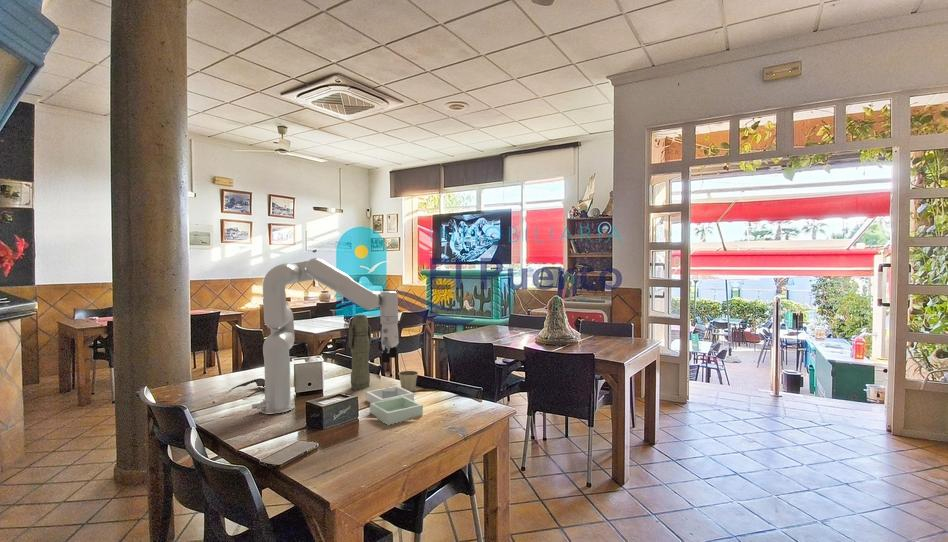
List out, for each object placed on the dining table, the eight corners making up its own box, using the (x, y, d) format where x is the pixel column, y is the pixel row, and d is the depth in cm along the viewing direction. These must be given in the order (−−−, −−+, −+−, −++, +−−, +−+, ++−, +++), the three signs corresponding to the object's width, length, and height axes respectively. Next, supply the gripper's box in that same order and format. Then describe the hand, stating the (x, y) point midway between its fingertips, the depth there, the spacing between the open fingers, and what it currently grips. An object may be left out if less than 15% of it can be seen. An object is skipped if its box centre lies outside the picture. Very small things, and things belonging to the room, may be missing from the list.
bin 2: (387, 425, 159) (387, 413, 159) (370, 414, 171) (370, 403, 171) (422, 416, 169) (422, 405, 168) (403, 407, 180) (403, 396, 180)
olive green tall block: (375, 386, 212) (375, 314, 212) (357, 392, 202) (357, 317, 202) (363, 383, 217) (362, 313, 217) (344, 389, 207) (344, 316, 207)
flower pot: (420, 388, 208) (420, 370, 207) (415, 394, 198) (415, 375, 198) (401, 388, 208) (401, 370, 208) (395, 394, 199) (395, 375, 199)
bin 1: (381, 411, 175) (381, 400, 175) (366, 402, 187) (365, 391, 187) (414, 403, 184) (414, 393, 184) (397, 395, 196) (397, 385, 196)
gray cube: (393, 403, 183) (393, 391, 183) (382, 402, 184) (382, 390, 184) (397, 399, 188) (397, 388, 188) (386, 399, 189) (386, 387, 188)
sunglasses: (278, 391, 204) (277, 381, 204) (243, 405, 190) (242, 394, 190) (257, 386, 213) (256, 376, 213) (223, 399, 199) (222, 388, 199)
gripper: (391, 322, 176) (392, 364, 177) (403, 317, 194) (403, 355, 194) (373, 322, 177) (374, 364, 178) (387, 317, 195) (387, 355, 195)
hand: (389, 359), depth 186 cm, fingers open, 9 cm apart
